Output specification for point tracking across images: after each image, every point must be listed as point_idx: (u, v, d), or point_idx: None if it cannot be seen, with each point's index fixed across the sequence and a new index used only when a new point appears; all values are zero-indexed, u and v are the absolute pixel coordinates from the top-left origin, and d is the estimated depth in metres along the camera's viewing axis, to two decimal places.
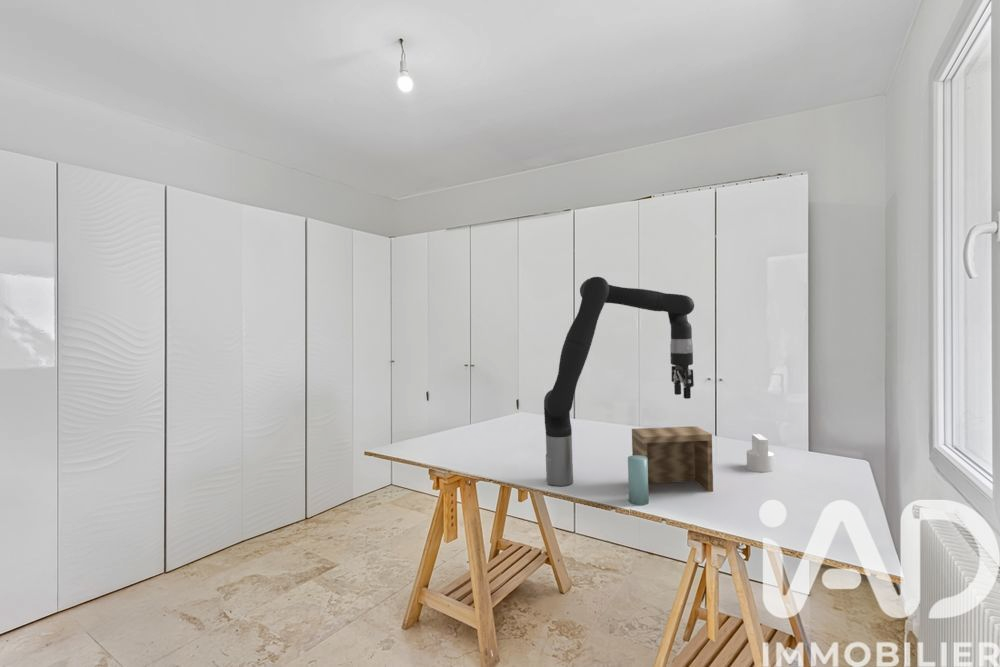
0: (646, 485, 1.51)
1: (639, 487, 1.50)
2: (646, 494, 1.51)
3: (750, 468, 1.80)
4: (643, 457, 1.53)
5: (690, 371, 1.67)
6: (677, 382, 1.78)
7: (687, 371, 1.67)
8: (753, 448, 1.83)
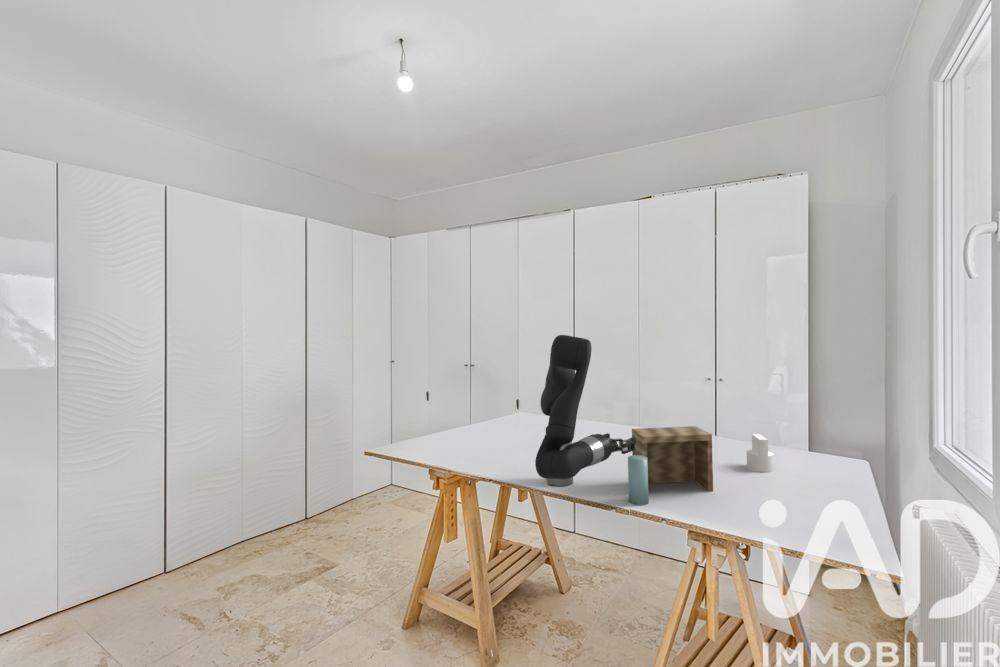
0: (646, 485, 1.51)
1: (639, 487, 1.50)
2: (646, 494, 1.51)
3: (750, 468, 1.80)
4: (643, 457, 1.53)
5: None
6: None
7: None
8: (753, 448, 1.83)
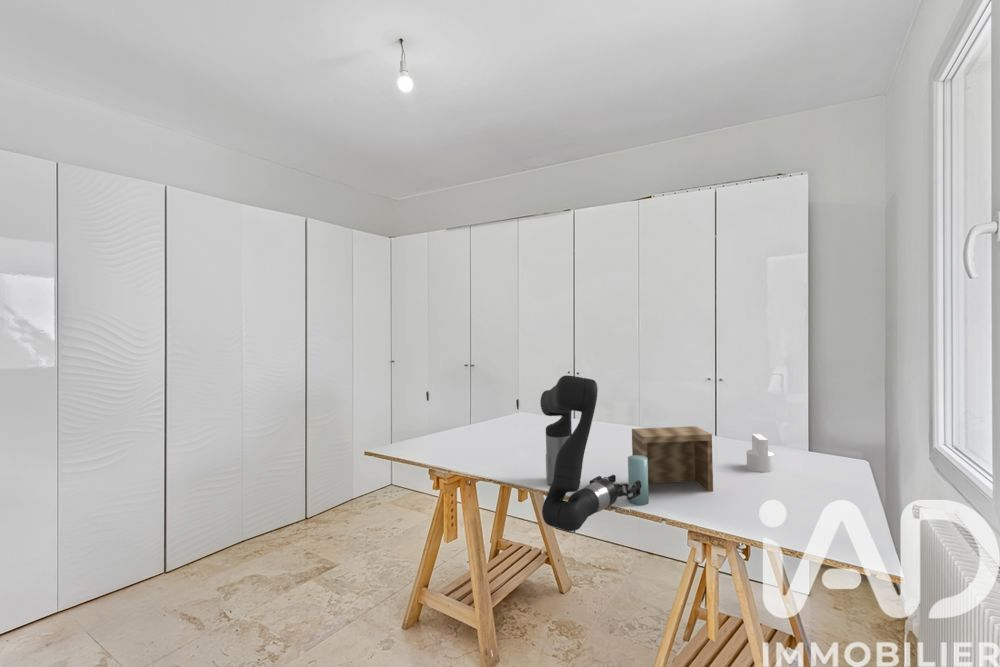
0: (646, 485, 1.51)
1: None
2: (646, 494, 1.51)
3: (750, 468, 1.80)
4: (643, 457, 1.53)
5: None
6: None
7: None
8: (753, 448, 1.83)
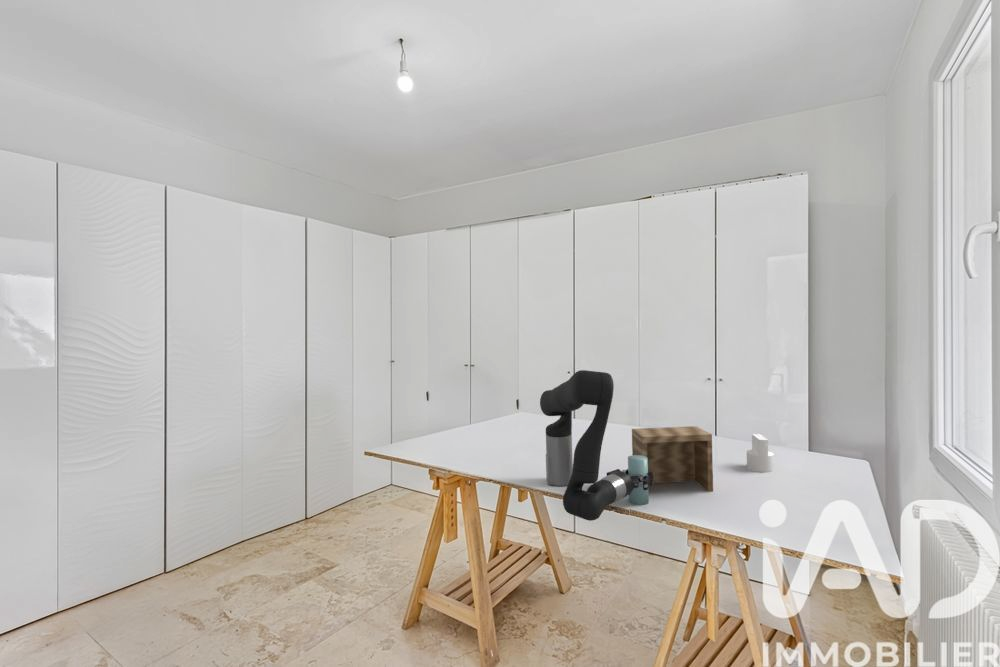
0: None
1: (639, 487, 1.50)
2: (646, 494, 1.51)
3: (750, 468, 1.80)
4: (643, 457, 1.53)
5: None
6: (644, 478, 1.49)
7: None
8: (753, 448, 1.83)
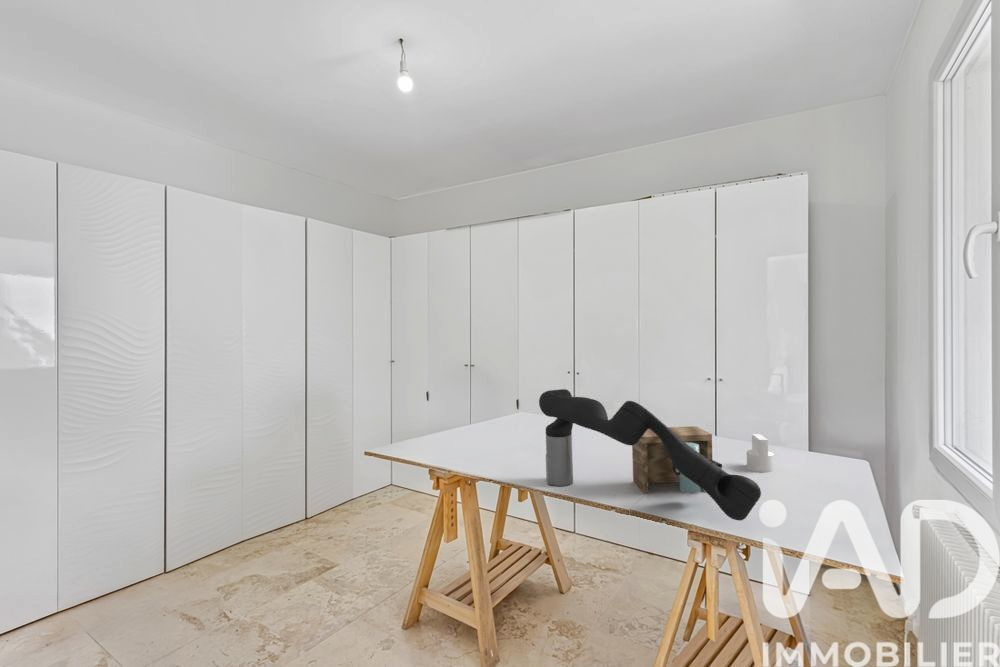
0: None
1: None
2: None
3: (750, 468, 1.80)
4: (691, 443, 1.51)
5: (676, 471, 1.43)
6: None
7: (675, 467, 1.43)
8: (753, 448, 1.83)
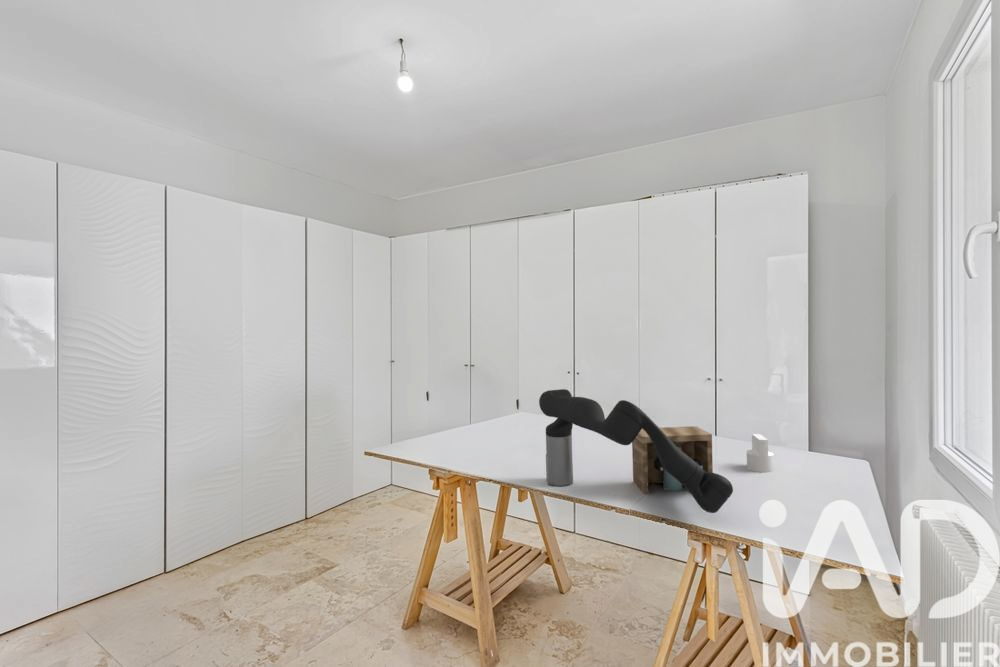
0: None
1: None
2: None
3: (750, 468, 1.80)
4: None
5: (660, 469, 1.56)
6: None
7: (660, 466, 1.56)
8: (753, 448, 1.83)
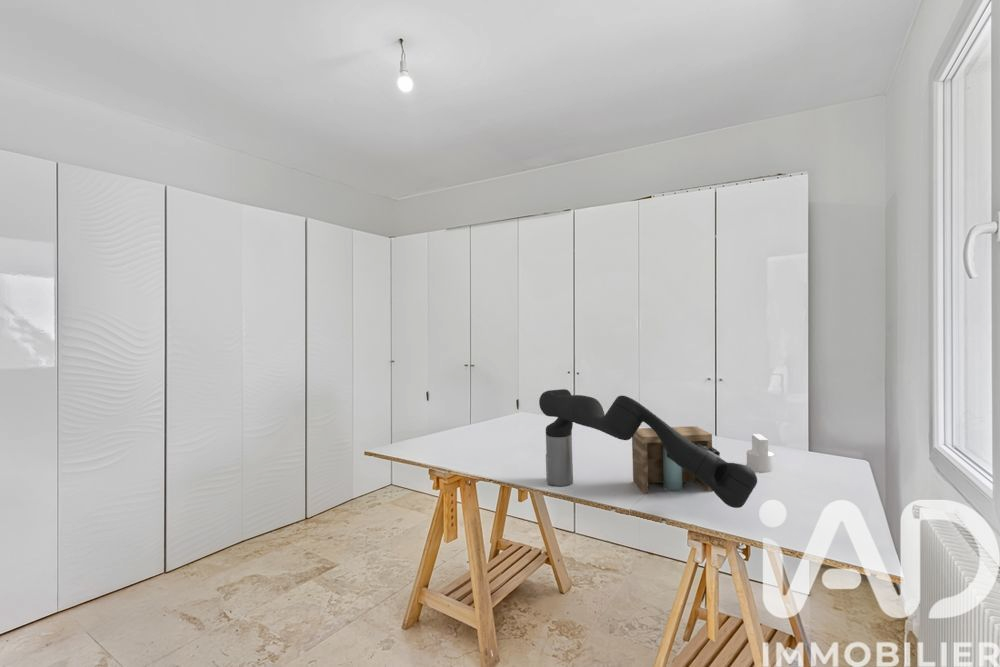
0: None
1: (680, 473, 1.62)
2: None
3: (750, 468, 1.80)
4: None
5: None
6: None
7: None
8: (753, 448, 1.83)
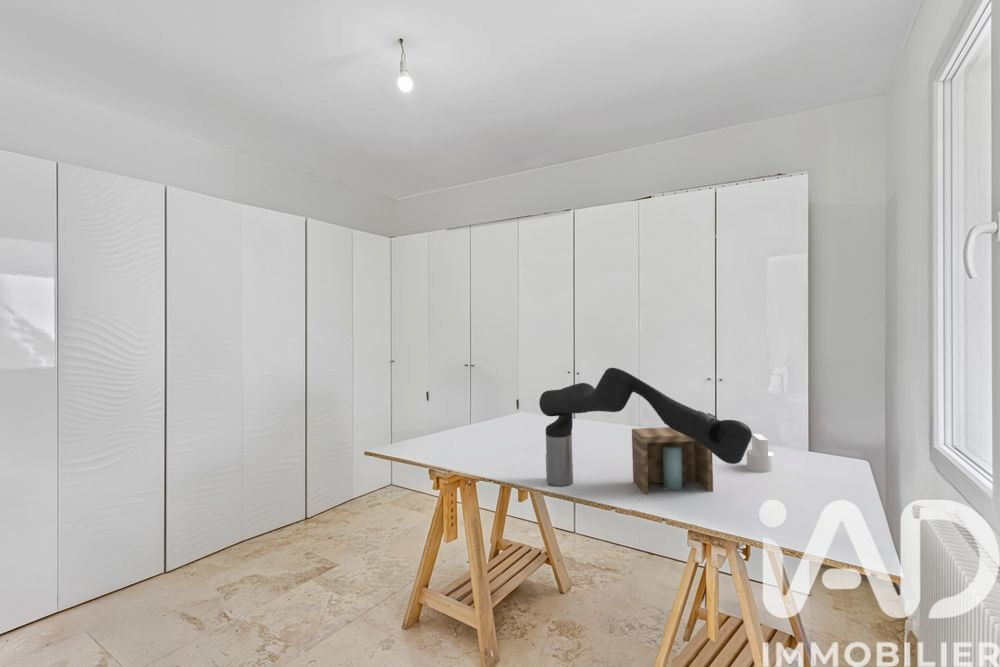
0: None
1: (680, 473, 1.62)
2: None
3: (750, 468, 1.80)
4: (674, 445, 1.65)
5: None
6: None
7: None
8: (753, 448, 1.83)
